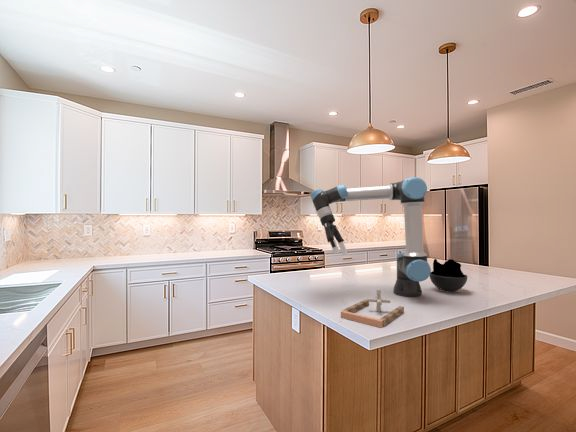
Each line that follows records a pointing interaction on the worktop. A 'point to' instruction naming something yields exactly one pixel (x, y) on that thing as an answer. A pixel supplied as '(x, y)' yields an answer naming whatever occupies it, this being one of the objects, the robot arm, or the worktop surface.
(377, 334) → the worktop surface
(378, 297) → the pipe connector
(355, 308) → the brown wooden frame
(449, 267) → the bowl of black rocks
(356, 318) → the band bar
